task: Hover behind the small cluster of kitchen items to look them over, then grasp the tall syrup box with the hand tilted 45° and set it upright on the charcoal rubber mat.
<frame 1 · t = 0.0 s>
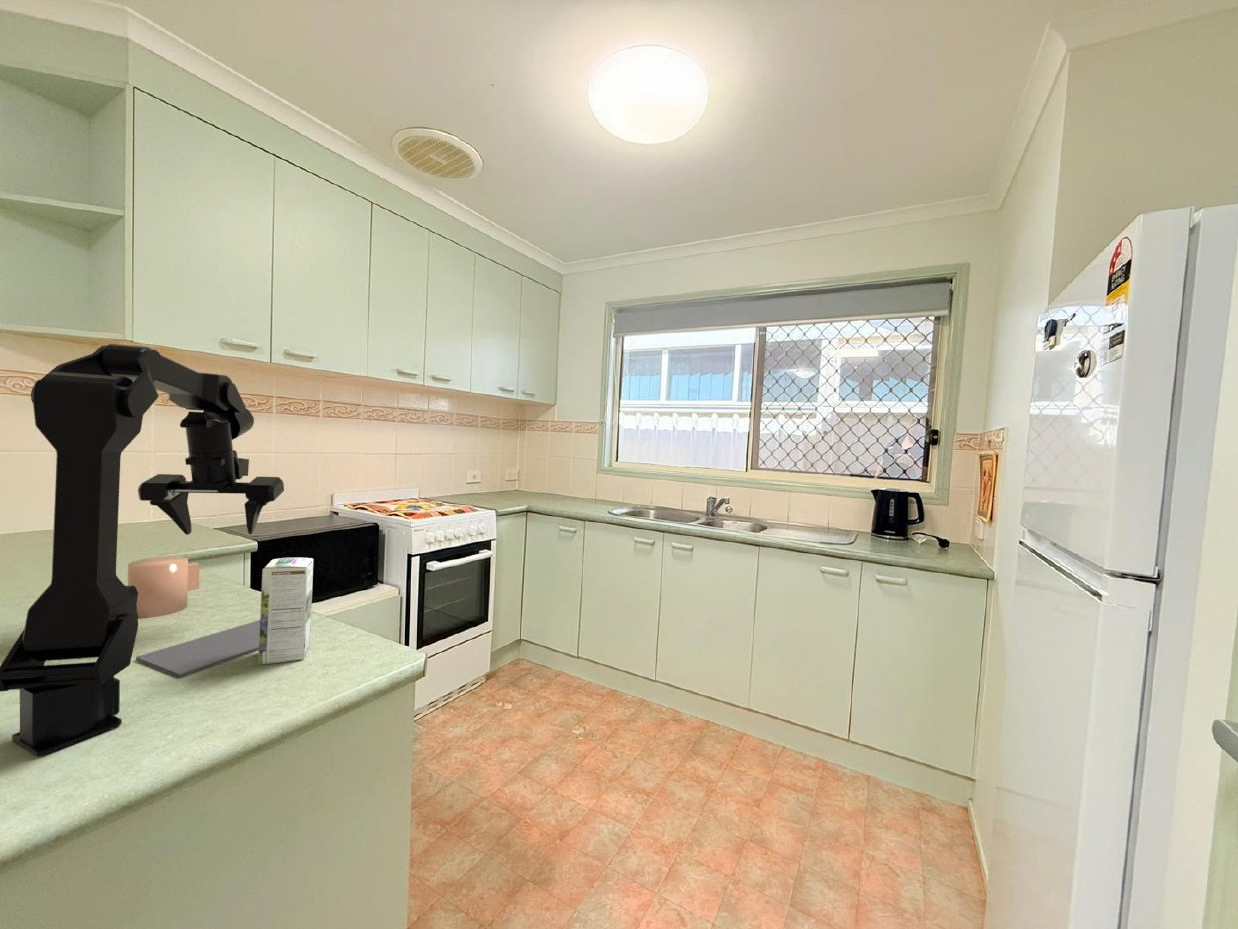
hand: (220, 533, 86), 15 cm above the worktop, tool pointing down, fingers open, 9 cm apart
terracotta mug: (158, 610, 89), on the worktop
lemon: (96, 646, 74), on the worktop
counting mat: (229, 645, 76), on the worktop
syrup box: (286, 656, 74), on the worktop
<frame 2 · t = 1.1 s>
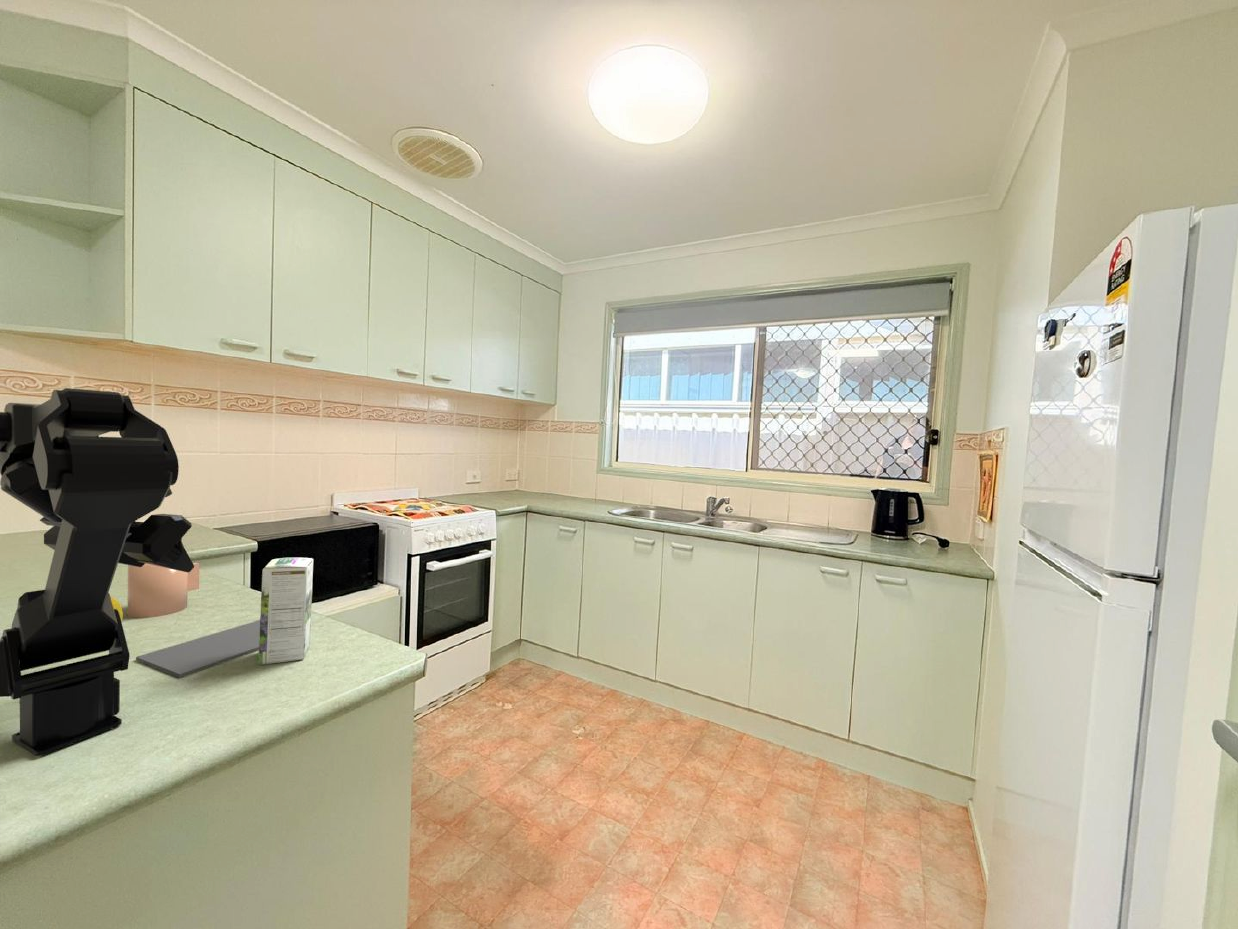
hand: (167, 566, 71), 13 cm above the worktop, tool tilted 45°, fingers open, 9 cm apart
nothing on the worktop moved.
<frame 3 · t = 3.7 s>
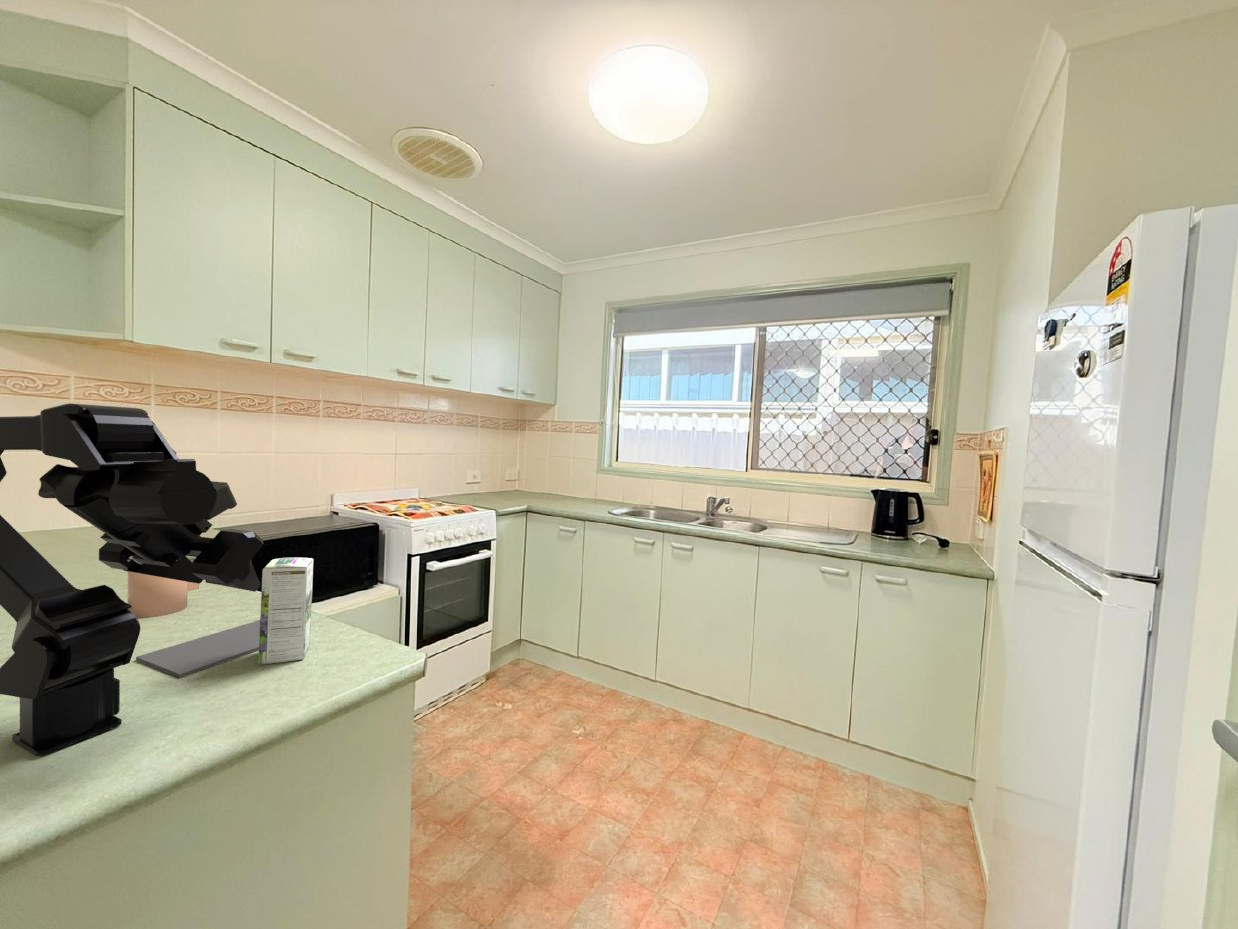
hand: (229, 584, 65), 14 cm above the worktop, tool tilted 45°, fingers open, 9 cm apart
nothing on the worktop moved.
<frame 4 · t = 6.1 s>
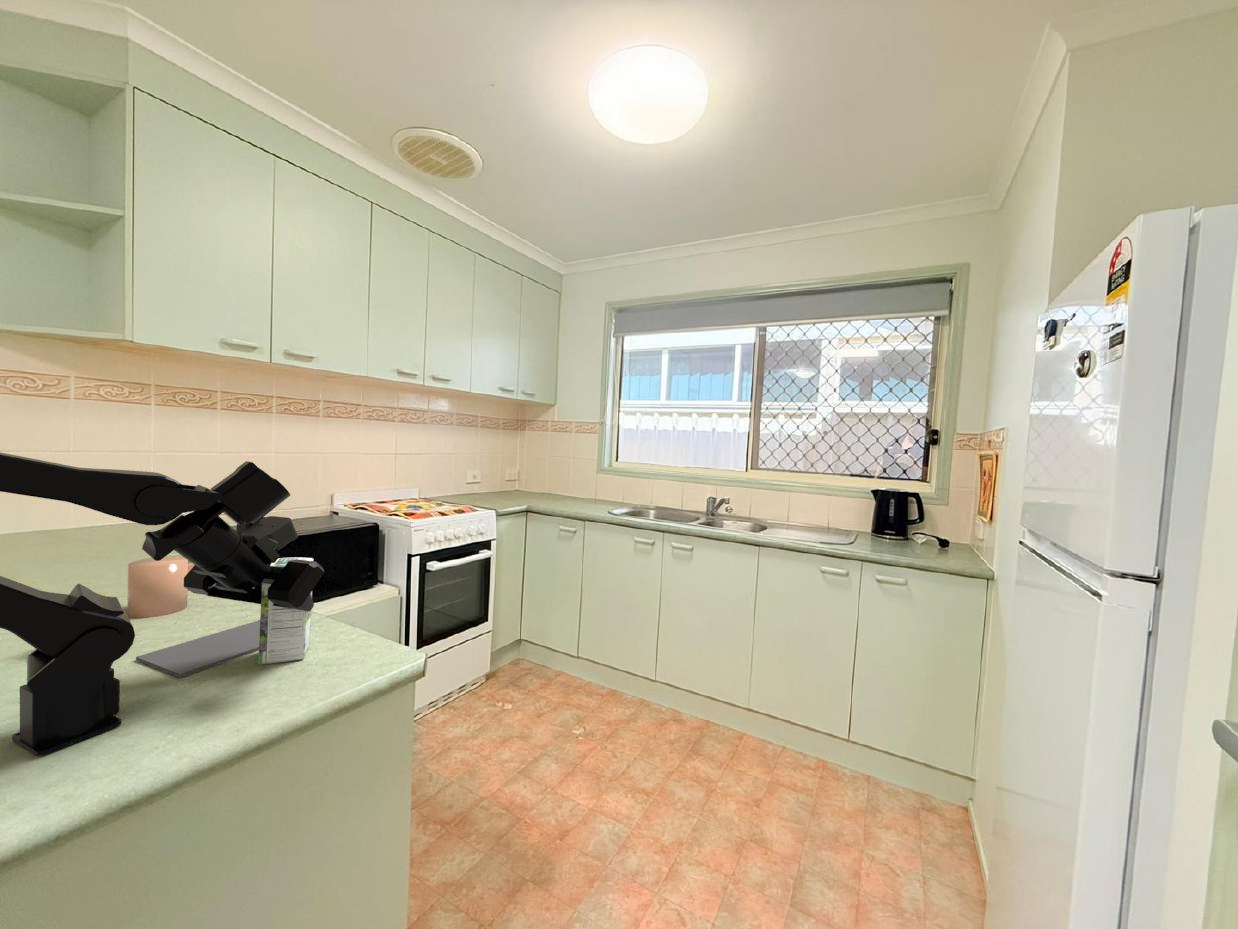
hand: (289, 605, 74), 8 cm above the worktop, tool tilted 45°, fingers closed on syrup box, 8 cm apart
syrup box: (286, 656, 74), on the worktop, touching gripper
everything else where it was.
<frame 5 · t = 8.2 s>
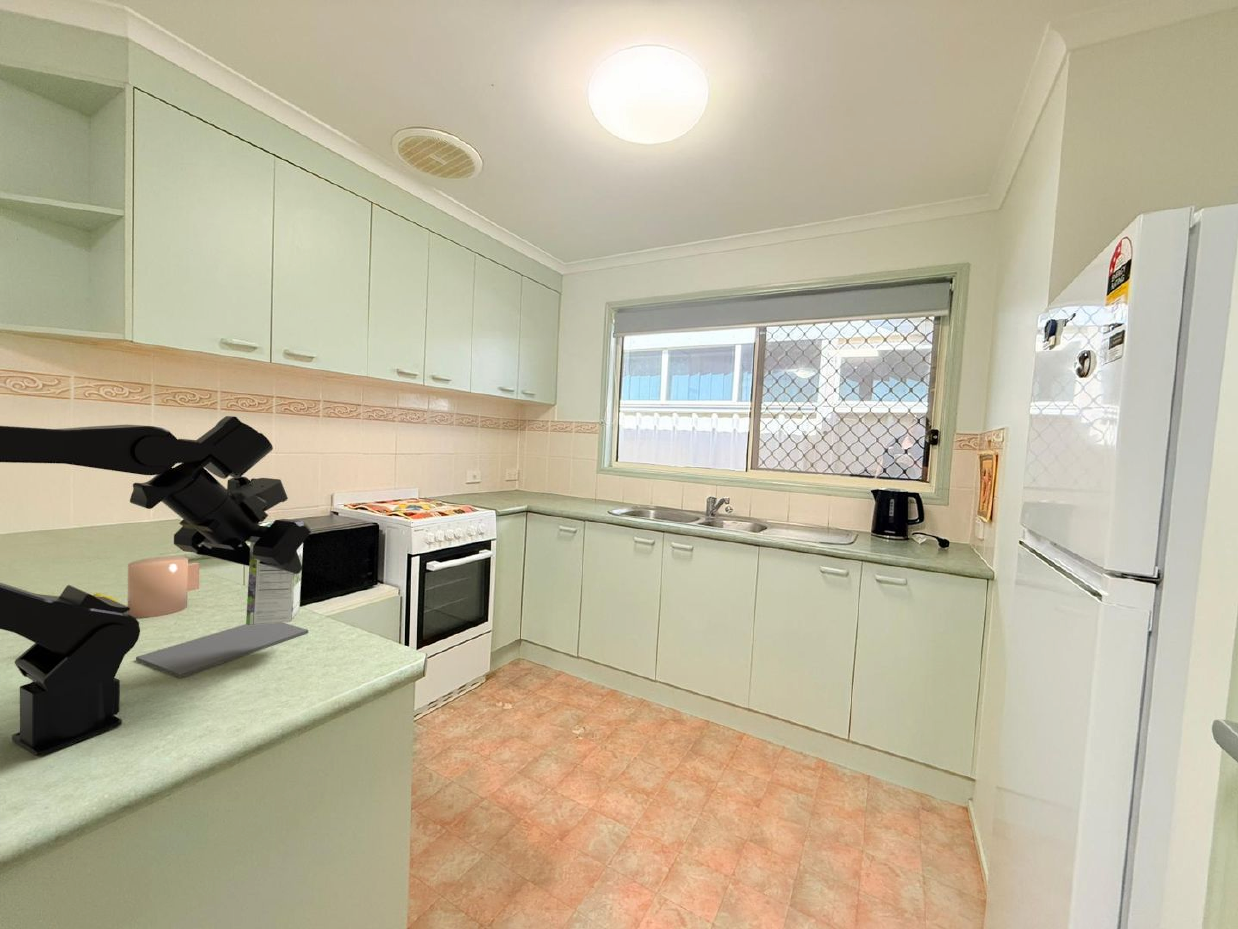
hand: (278, 568, 75), 13 cm above the worktop, tool tilted 45°, fingers closed on syrup box, 8 cm apart
syrup box: (274, 619, 74), point 5 cm above the worktop, touching gripper
everything else where it was.
when the fingers open (9 cm above the worktop, at t = 10.5 s): syrup box stays where it is, resting on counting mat.
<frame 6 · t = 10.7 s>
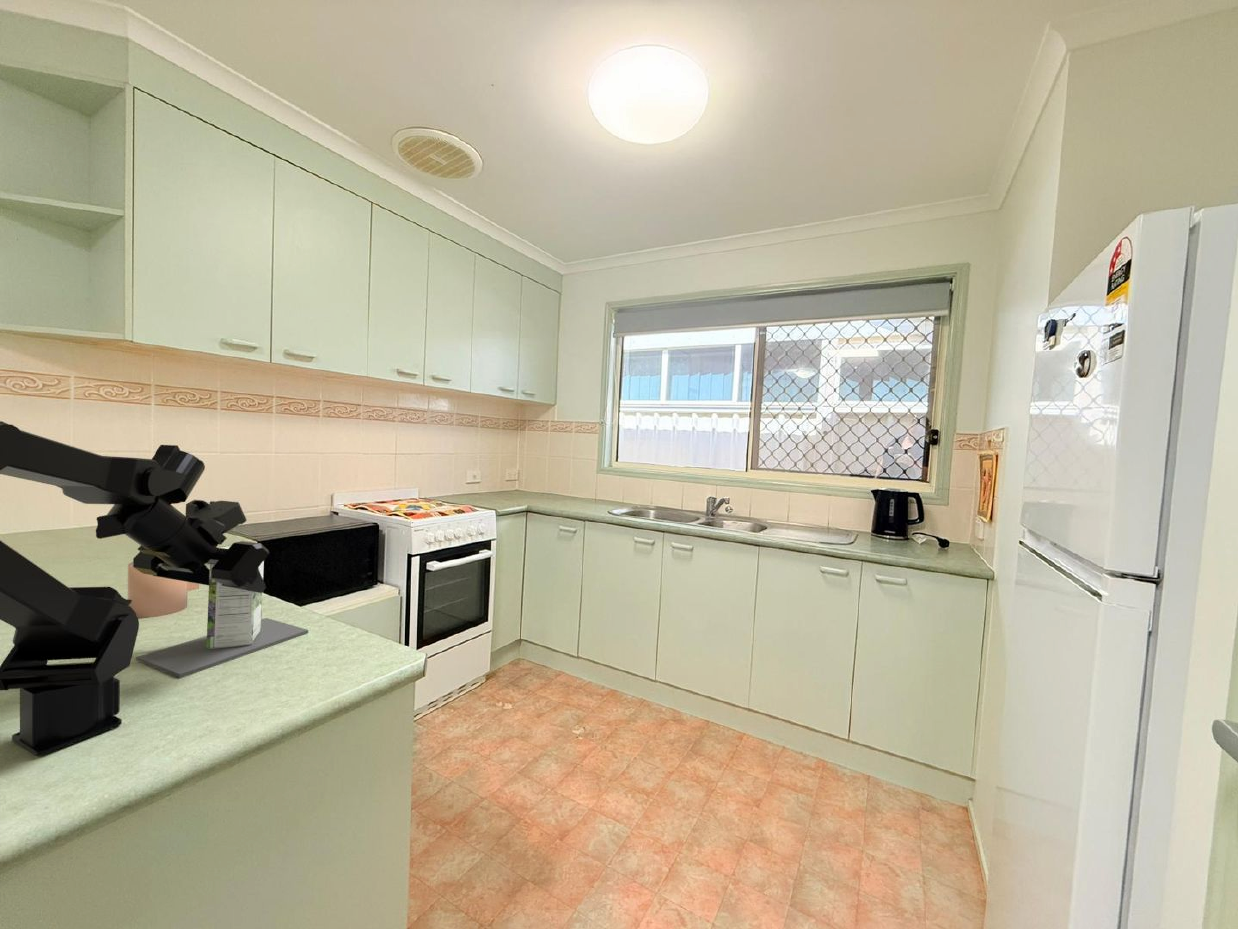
hand: (239, 586, 77), 9 cm above the worktop, tool tilted 45°, fingers open, 9 cm apart
syrup box: (235, 641, 77), resting on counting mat
everything else where it was.
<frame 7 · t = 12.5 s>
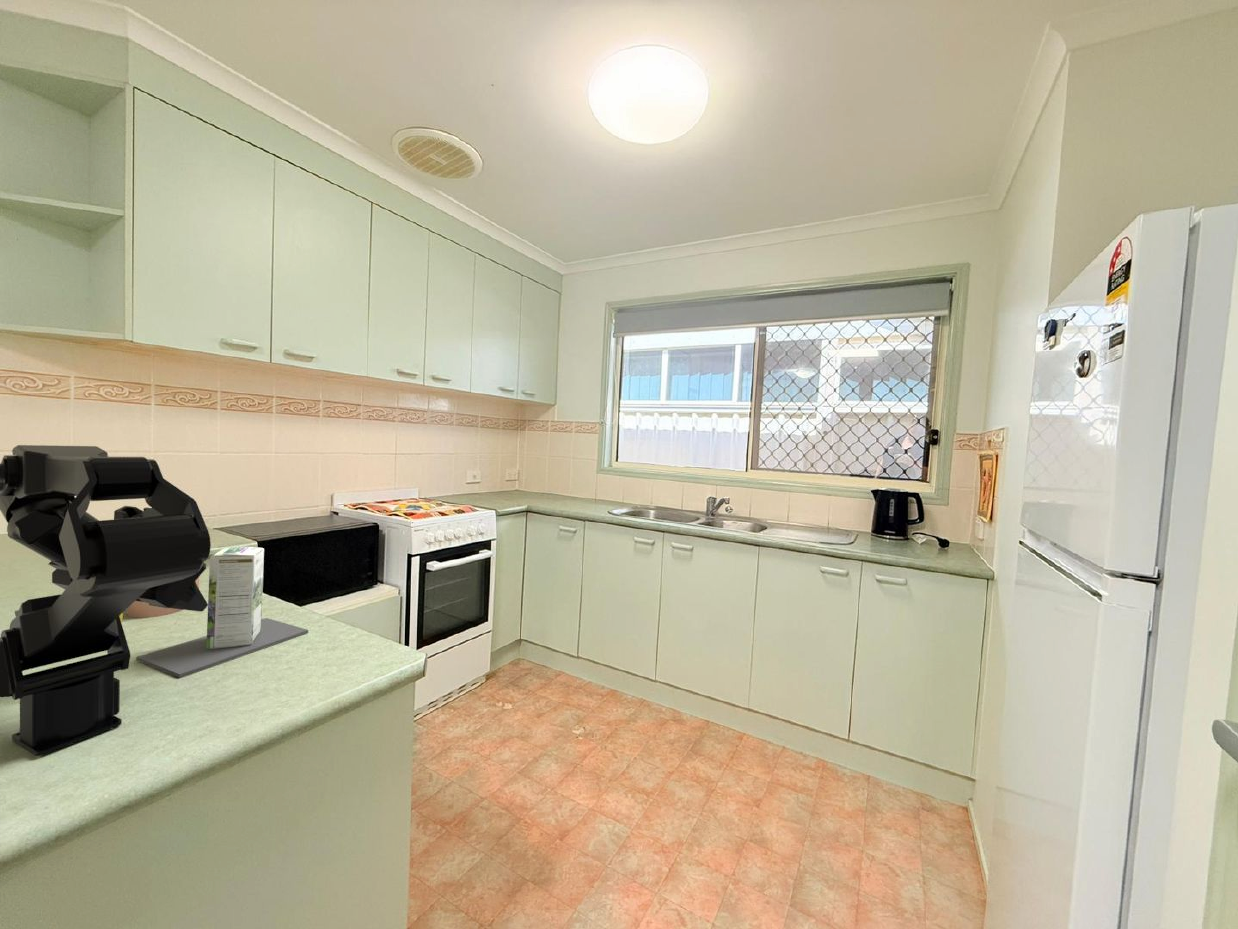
hand: (179, 603, 69), 9 cm above the worktop, tool tilted 45°, fingers open, 9 cm apart
nothing on the worktop moved.
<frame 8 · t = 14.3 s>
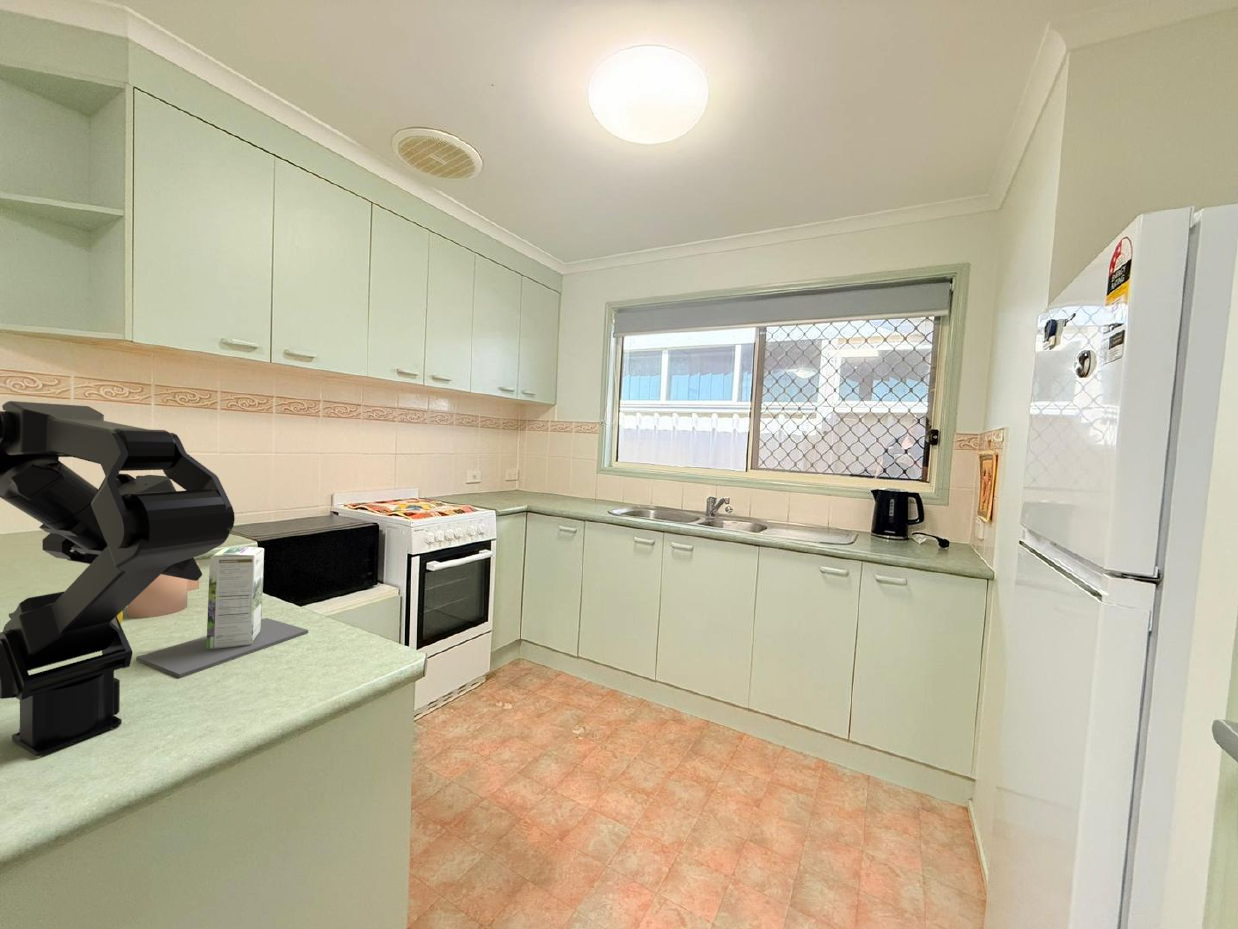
hand: (173, 573, 68), 14 cm above the worktop, tool tilted 45°, fingers open, 9 cm apart
nothing on the worktop moved.
at the end: syrup box inside the target area on the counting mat (0.8 cm from its centre), point 0.3 cm above the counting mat's base; syrup box tilted 0°; the gripper is holding nothing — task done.
